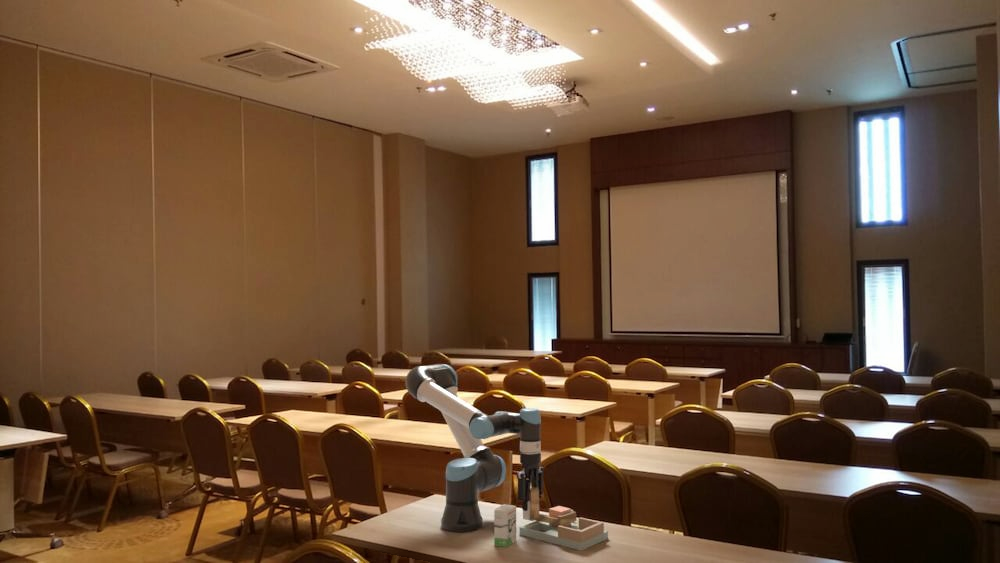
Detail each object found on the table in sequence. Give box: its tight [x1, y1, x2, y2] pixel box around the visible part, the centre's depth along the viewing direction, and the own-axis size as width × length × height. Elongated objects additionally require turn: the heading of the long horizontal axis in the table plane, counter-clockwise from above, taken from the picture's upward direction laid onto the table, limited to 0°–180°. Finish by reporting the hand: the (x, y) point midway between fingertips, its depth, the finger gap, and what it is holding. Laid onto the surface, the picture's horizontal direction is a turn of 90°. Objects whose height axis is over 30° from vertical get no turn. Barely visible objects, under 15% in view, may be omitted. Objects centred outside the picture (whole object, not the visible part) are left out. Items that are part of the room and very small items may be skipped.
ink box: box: [493, 503, 517, 548], centre depth 244 cm, size 9×5×12 cm, turn 157°
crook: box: [524, 485, 578, 526], centre depth 258 cm, size 18×9×11 cm, turn 46°
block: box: [548, 505, 572, 527], centre depth 256 cm, size 6×6×6 cm
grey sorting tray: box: [519, 516, 609, 552], centre depth 250 cm, size 26×16×6 cm, turn 49°
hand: (530, 517), depth 260 cm, fingers closed on crook, 4 cm apart
